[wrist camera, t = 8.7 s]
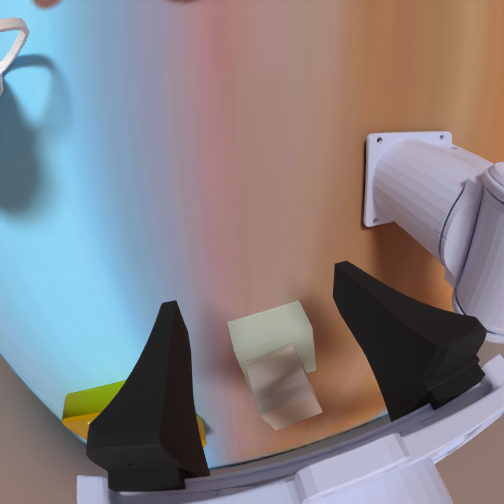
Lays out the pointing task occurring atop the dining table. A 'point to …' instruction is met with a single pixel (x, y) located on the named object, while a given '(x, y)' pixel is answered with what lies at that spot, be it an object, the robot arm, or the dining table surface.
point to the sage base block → (273, 335)
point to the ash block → (282, 388)
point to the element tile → (96, 408)
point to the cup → (8, 25)
